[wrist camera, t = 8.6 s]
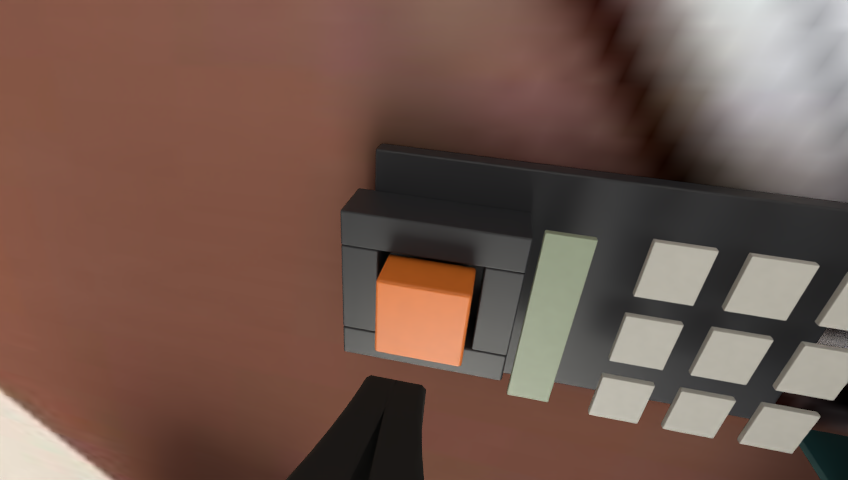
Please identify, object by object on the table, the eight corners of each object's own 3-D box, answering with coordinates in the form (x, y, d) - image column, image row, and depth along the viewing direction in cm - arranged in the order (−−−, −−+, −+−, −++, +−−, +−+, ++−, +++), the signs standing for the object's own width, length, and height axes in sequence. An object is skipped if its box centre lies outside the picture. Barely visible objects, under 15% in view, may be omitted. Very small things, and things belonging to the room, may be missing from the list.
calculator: (885, 207, 13) (961, 250, 10) (754, 407, 17) (789, 466, 15) (365, 140, 15) (338, 165, 12) (363, 335, 19) (344, 379, 17)
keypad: (788, 448, 14) (792, 453, 14) (505, 394, 15) (505, 398, 15) (920, 276, 11) (926, 281, 11) (546, 223, 12) (547, 226, 12)
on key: (476, 266, 14) (472, 296, 12) (465, 335, 15) (460, 368, 14) (388, 252, 14) (375, 279, 13) (386, 321, 15) (374, 351, 14)
